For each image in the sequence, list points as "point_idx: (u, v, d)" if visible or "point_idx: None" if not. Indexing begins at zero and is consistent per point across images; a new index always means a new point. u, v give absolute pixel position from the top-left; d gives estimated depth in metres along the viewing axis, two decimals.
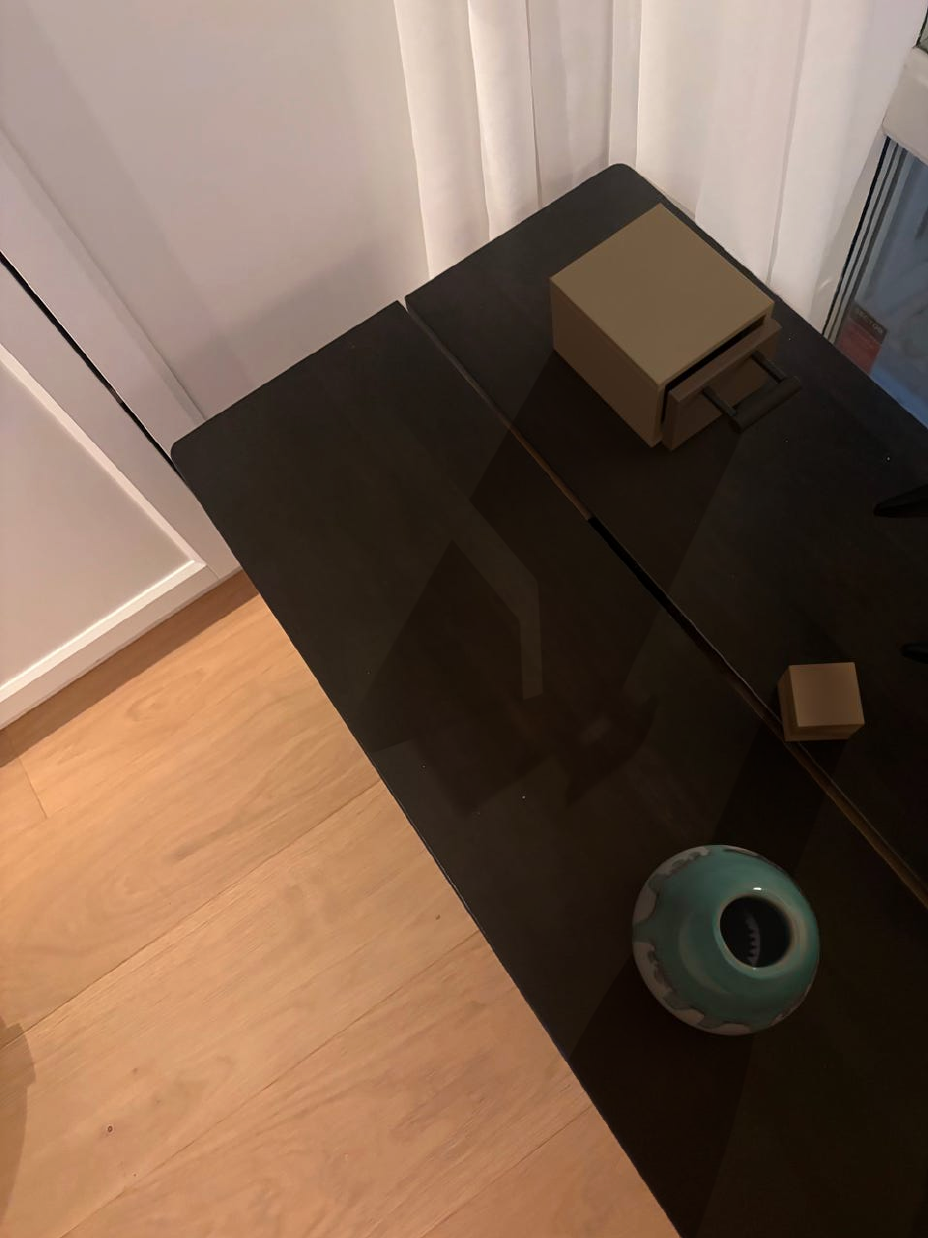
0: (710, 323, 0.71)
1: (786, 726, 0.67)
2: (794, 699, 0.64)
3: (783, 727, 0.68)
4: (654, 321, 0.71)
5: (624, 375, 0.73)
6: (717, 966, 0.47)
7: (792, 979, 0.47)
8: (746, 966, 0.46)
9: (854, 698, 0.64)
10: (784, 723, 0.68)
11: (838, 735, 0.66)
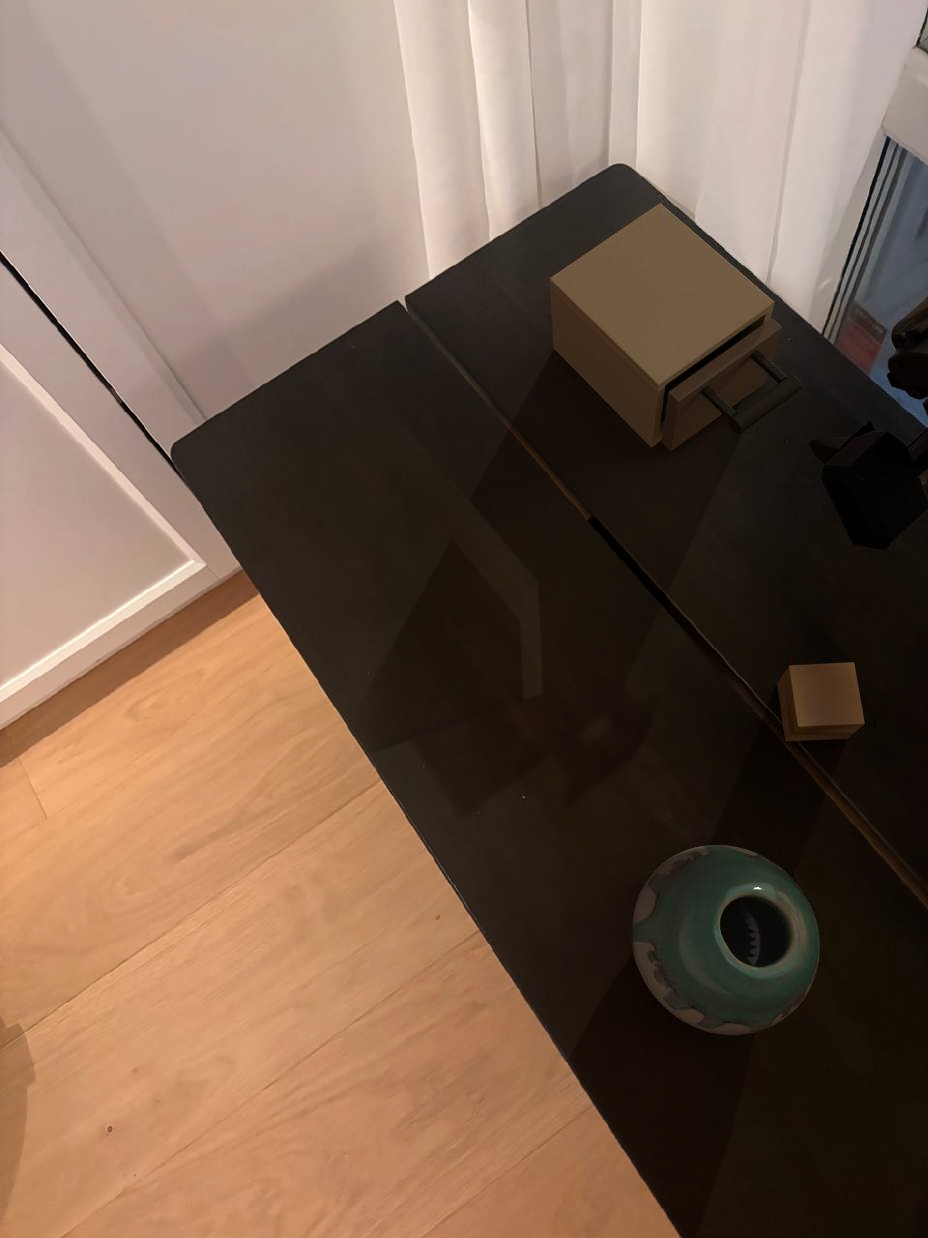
0: (710, 323, 0.71)
1: (786, 726, 0.67)
2: (794, 699, 0.64)
3: (783, 727, 0.68)
4: (654, 321, 0.71)
5: (624, 375, 0.73)
6: (718, 966, 0.47)
7: (792, 979, 0.47)
8: (746, 966, 0.46)
9: (854, 698, 0.64)
10: (784, 723, 0.68)
11: (838, 735, 0.66)
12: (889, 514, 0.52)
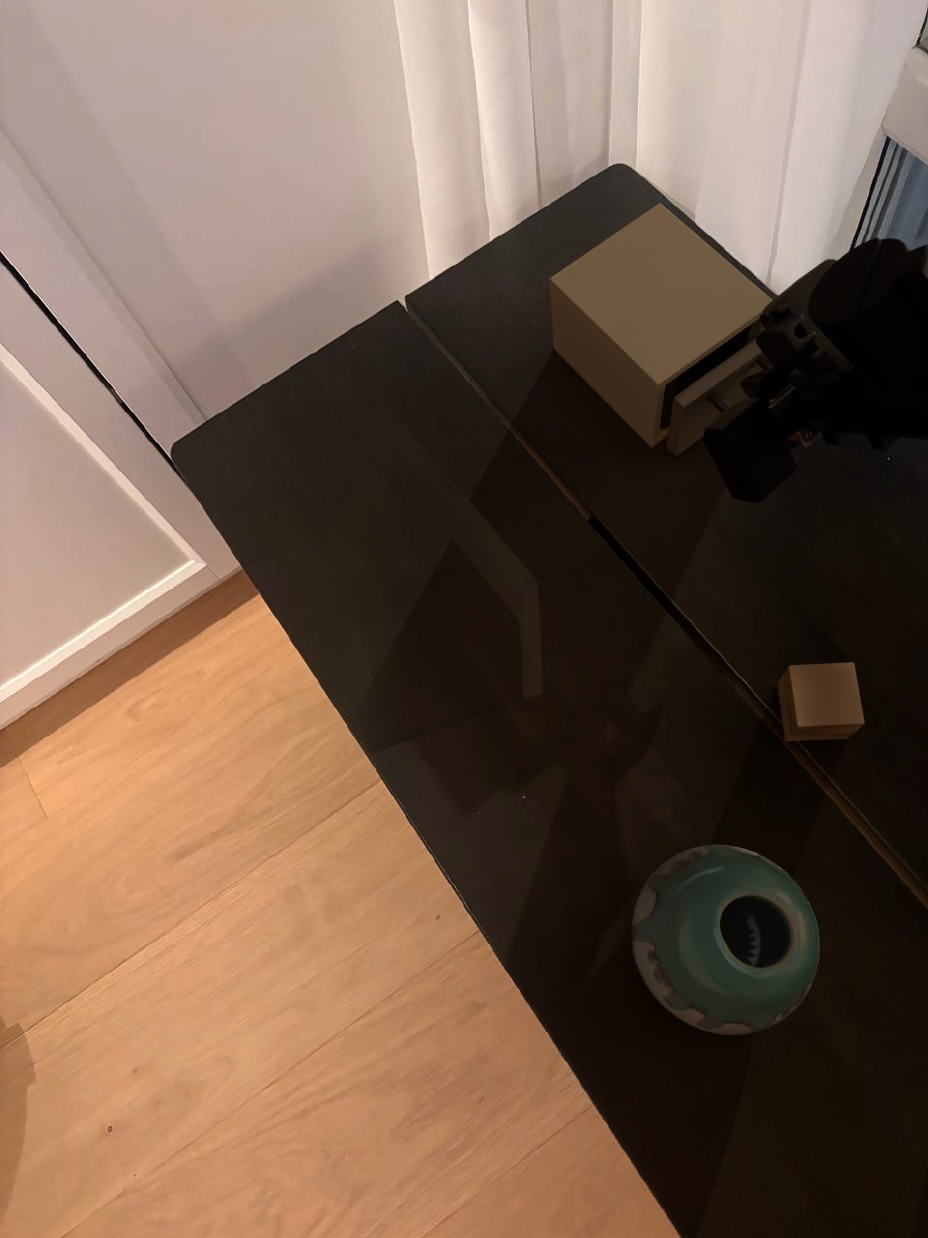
0: (710, 323, 0.71)
1: (786, 726, 0.67)
2: (794, 699, 0.64)
3: (783, 727, 0.68)
4: (654, 321, 0.71)
5: (624, 375, 0.73)
6: (718, 966, 0.47)
7: (792, 979, 0.47)
8: (746, 966, 0.46)
9: (854, 698, 0.64)
10: (784, 723, 0.68)
11: (838, 735, 0.66)
12: (759, 471, 0.60)
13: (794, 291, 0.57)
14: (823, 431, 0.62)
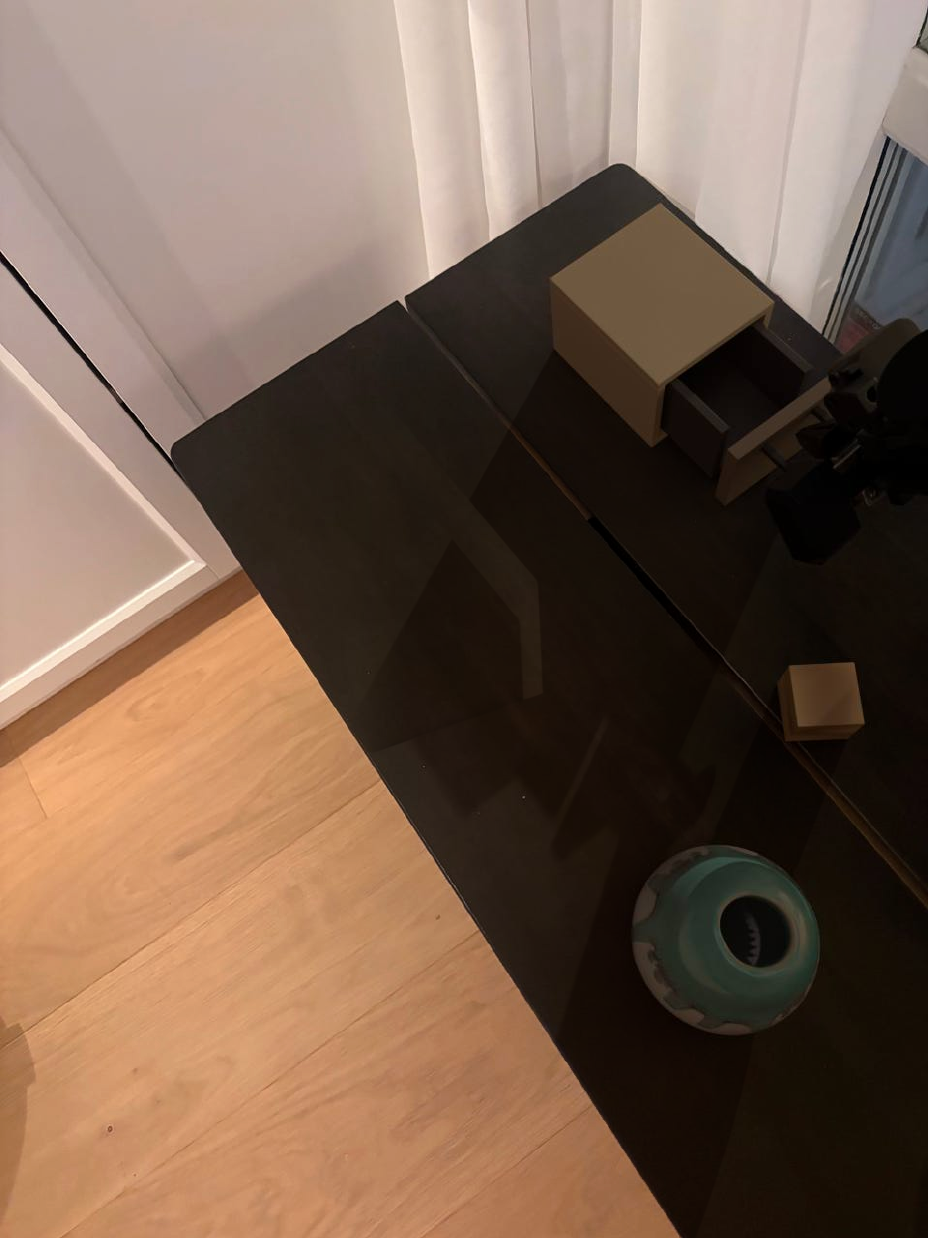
0: (710, 323, 0.71)
1: (786, 726, 0.67)
2: (794, 699, 0.64)
3: (783, 727, 0.68)
4: (654, 321, 0.71)
5: (624, 375, 0.73)
6: (718, 966, 0.47)
7: (792, 979, 0.47)
8: (746, 966, 0.46)
9: (854, 698, 0.64)
10: (784, 723, 0.68)
11: (838, 735, 0.66)
12: (823, 534, 0.58)
13: (865, 351, 0.54)
14: (888, 491, 0.60)
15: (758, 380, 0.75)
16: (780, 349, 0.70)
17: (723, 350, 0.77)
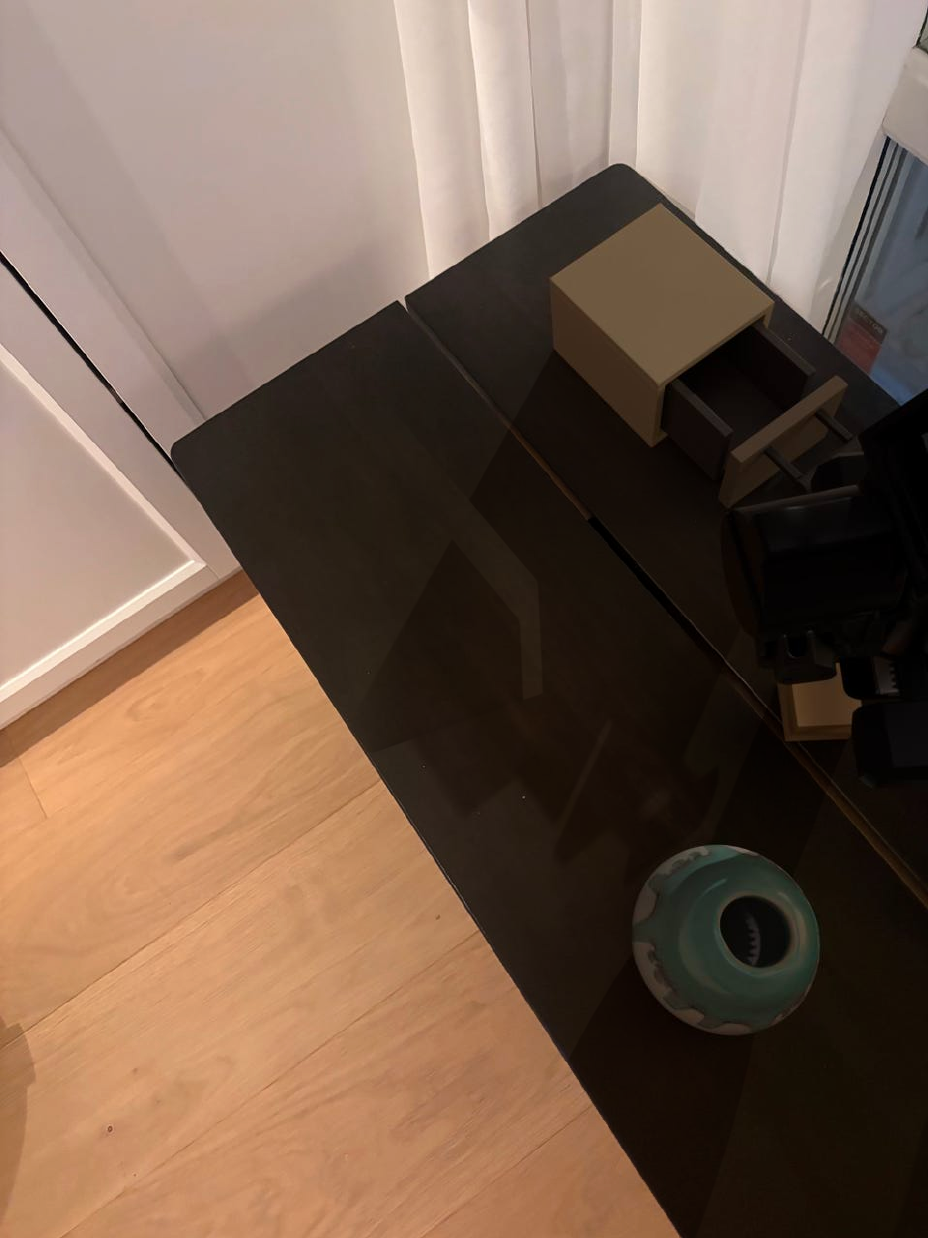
0: (710, 323, 0.71)
1: (786, 726, 0.67)
2: (794, 699, 0.64)
3: (783, 727, 0.68)
4: (654, 321, 0.71)
5: (624, 375, 0.73)
6: (718, 966, 0.47)
7: (792, 979, 0.47)
8: (746, 966, 0.46)
9: None
10: (784, 723, 0.68)
11: (838, 735, 0.66)
12: None
13: None
14: None
15: (761, 383, 0.75)
16: (783, 352, 0.70)
17: (726, 353, 0.77)
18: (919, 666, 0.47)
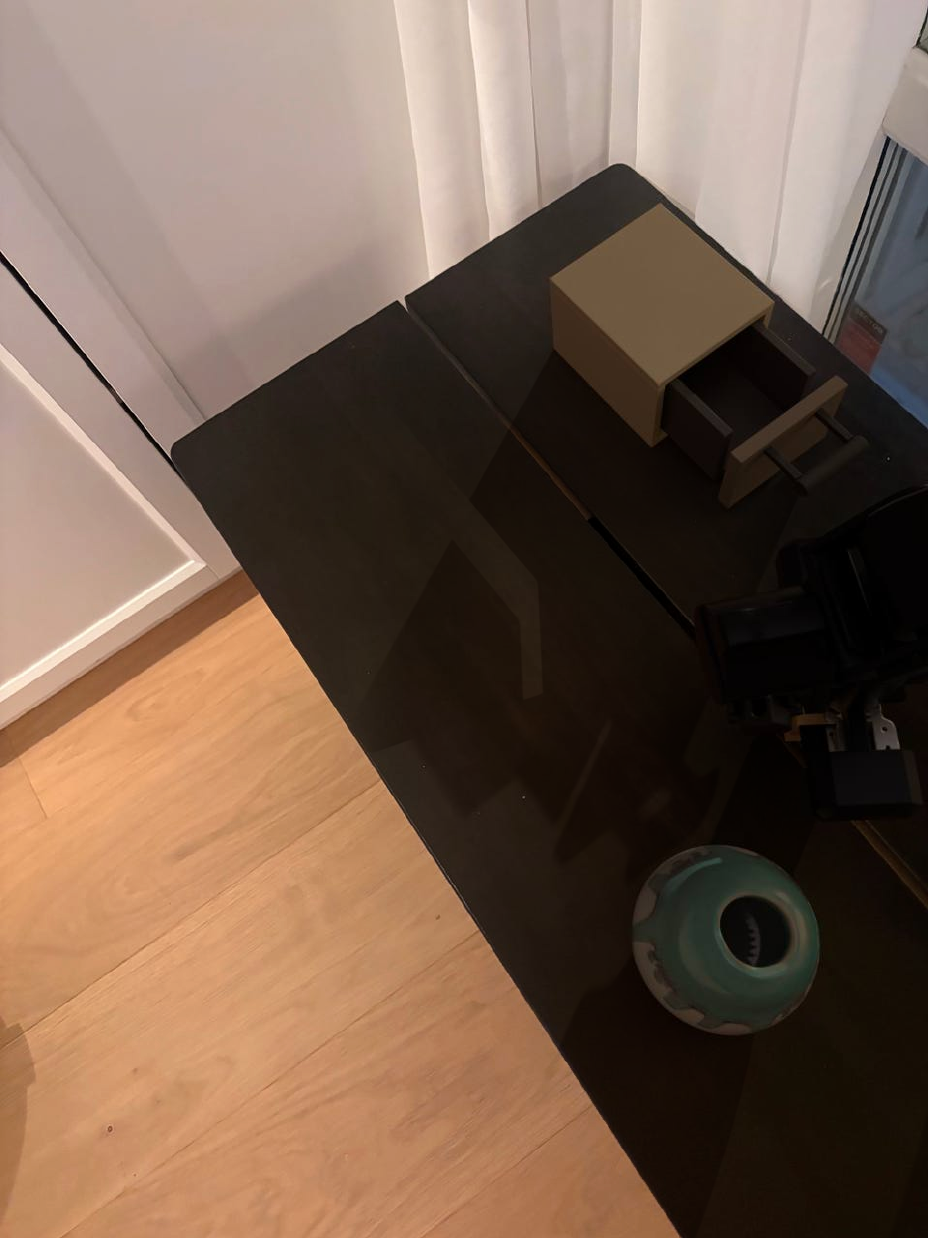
0: (710, 323, 0.71)
1: None
2: None
3: None
4: (654, 321, 0.71)
5: (624, 375, 0.73)
6: (718, 966, 0.47)
7: (792, 979, 0.47)
8: (746, 966, 0.46)
9: None
10: None
11: None
12: (884, 795, 0.55)
13: None
14: (885, 702, 0.57)
15: (761, 383, 0.75)
16: (783, 352, 0.70)
17: (726, 353, 0.77)
18: (860, 721, 0.57)
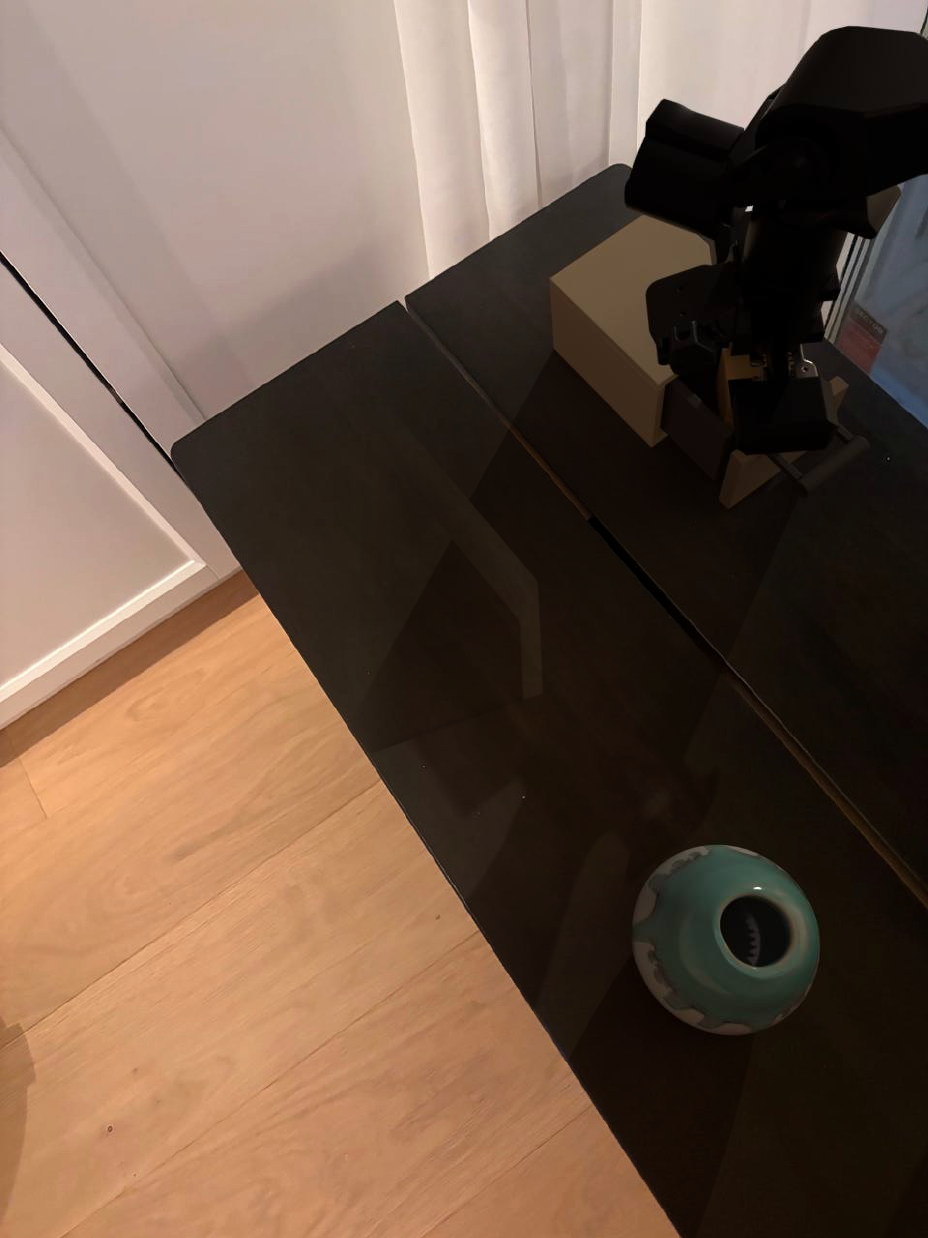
0: None
1: (721, 414, 0.70)
2: (726, 376, 0.68)
3: None
4: None
5: (624, 375, 0.73)
6: (718, 966, 0.47)
7: (792, 979, 0.47)
8: (746, 966, 0.46)
9: None
10: (720, 414, 0.71)
11: None
12: (801, 414, 0.58)
13: (652, 328, 0.61)
14: (805, 341, 0.61)
15: None
16: None
17: None
18: (782, 359, 0.61)
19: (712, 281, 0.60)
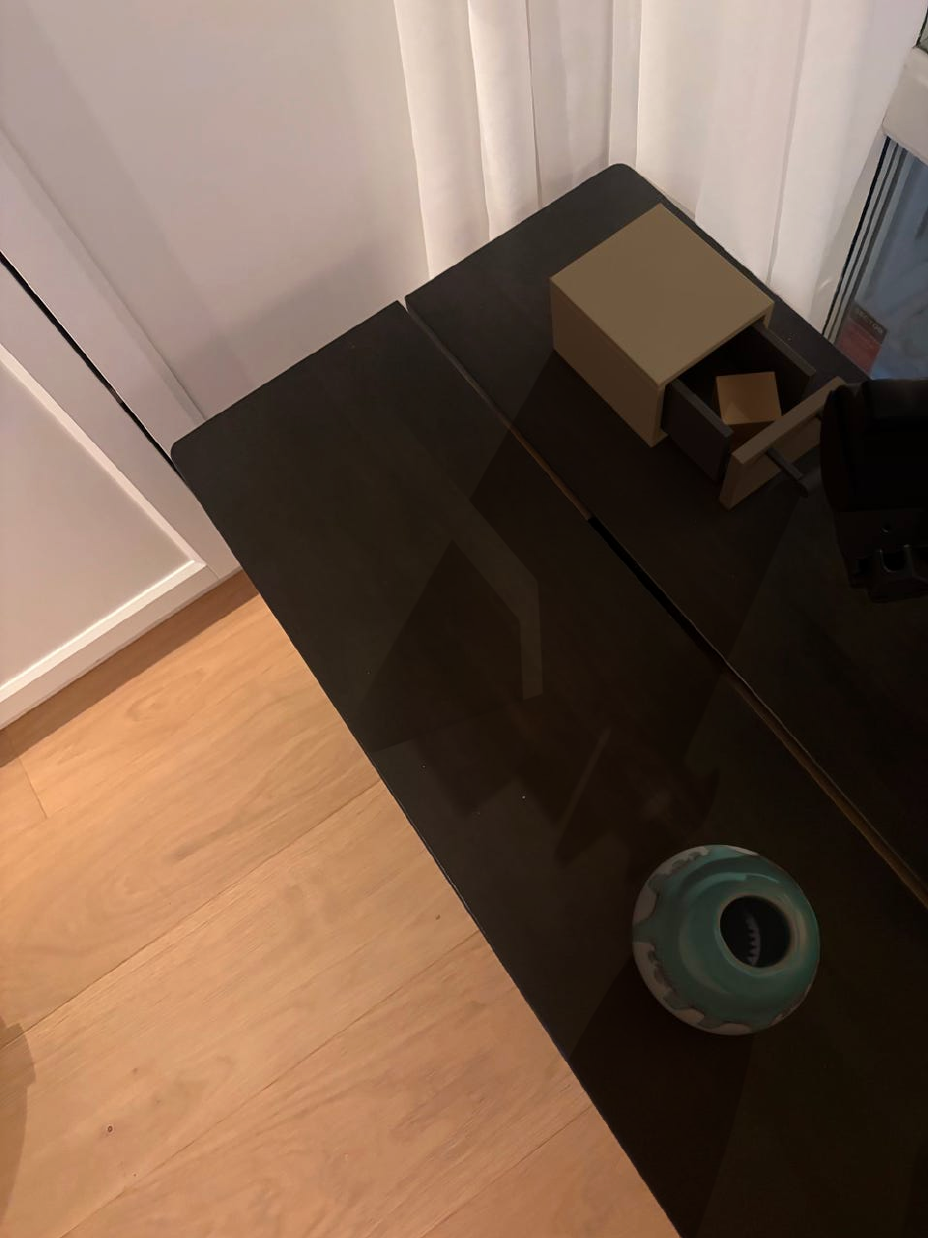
0: (710, 323, 0.71)
1: None
2: (719, 403, 0.71)
3: None
4: (654, 321, 0.71)
5: (624, 375, 0.73)
6: (718, 966, 0.47)
7: (792, 979, 0.47)
8: (746, 966, 0.46)
9: (773, 399, 0.70)
10: None
11: None
12: None
13: (844, 543, 0.47)
14: None
15: None
16: (784, 353, 0.70)
17: (727, 353, 0.77)
18: None
19: None
